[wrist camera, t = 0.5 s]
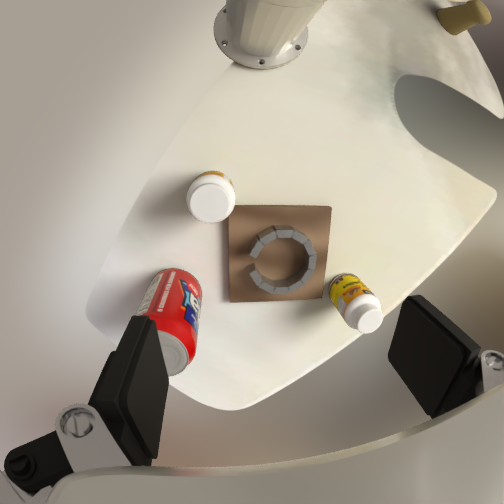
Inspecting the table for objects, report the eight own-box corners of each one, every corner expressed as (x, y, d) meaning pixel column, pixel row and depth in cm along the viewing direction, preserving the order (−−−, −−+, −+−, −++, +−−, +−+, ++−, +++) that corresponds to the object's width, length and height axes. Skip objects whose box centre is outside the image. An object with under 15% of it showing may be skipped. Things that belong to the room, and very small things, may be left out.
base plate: (228, 205, 37) (228, 207, 36) (328, 206, 38) (331, 207, 37) (229, 298, 42) (229, 302, 41) (319, 294, 43) (321, 298, 42)
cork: (447, 8, 26) (482, -5, 16) (462, 33, 28) (499, 24, 18) (432, 10, 27) (468, -6, 16) (448, 36, 29) (487, 25, 18)
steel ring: (248, 225, 37) (249, 230, 35) (313, 225, 38) (318, 230, 36) (247, 286, 40) (248, 295, 38) (308, 284, 41) (312, 292, 39)
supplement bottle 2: (361, 271, 43) (393, 302, 33) (354, 301, 45) (382, 336, 35) (330, 271, 42) (357, 305, 32) (324, 302, 44) (347, 340, 34)
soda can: (154, 260, 39) (123, 317, 25) (207, 272, 40) (200, 335, 26) (148, 305, 41) (122, 371, 27) (197, 316, 43) (189, 387, 29)
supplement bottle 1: (184, 193, 36) (171, 207, 27) (211, 162, 35) (206, 165, 26) (215, 218, 38) (212, 241, 28) (242, 188, 36) (248, 201, 27)
